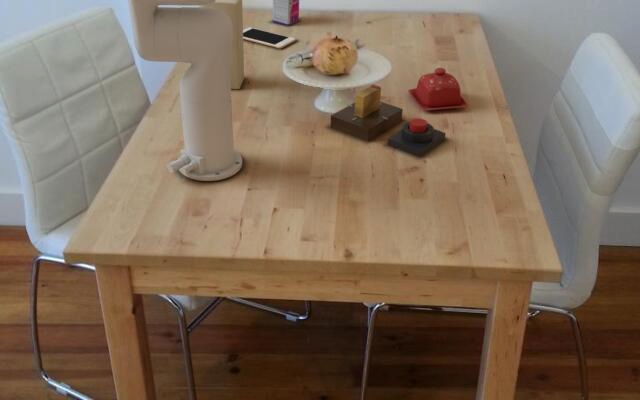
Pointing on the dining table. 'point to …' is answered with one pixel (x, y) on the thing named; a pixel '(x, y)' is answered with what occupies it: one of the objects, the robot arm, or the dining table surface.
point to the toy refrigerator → (232, 6)
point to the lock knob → (367, 101)
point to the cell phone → (267, 37)
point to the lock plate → (366, 121)
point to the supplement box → (285, 11)
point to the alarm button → (418, 125)
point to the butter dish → (438, 91)
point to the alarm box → (416, 140)
